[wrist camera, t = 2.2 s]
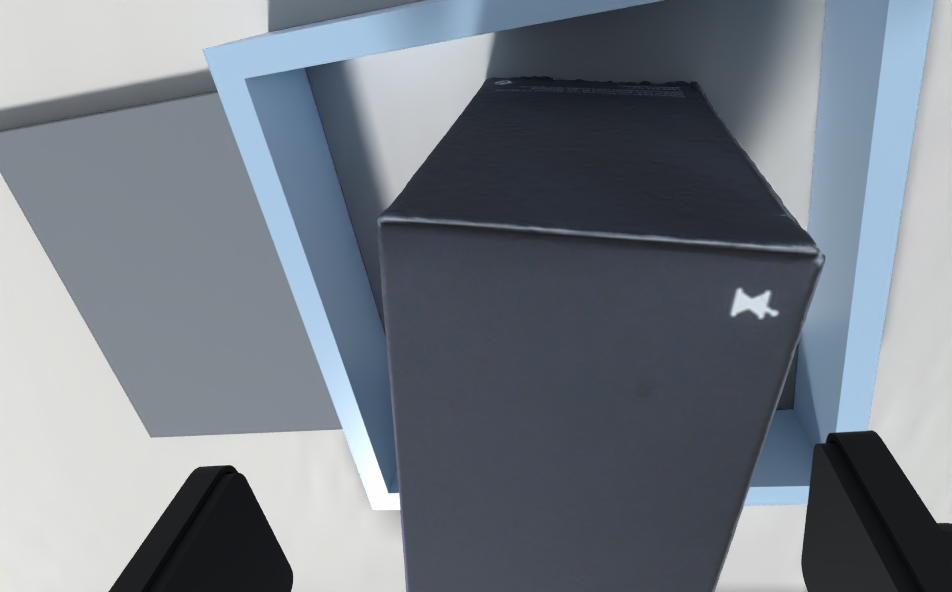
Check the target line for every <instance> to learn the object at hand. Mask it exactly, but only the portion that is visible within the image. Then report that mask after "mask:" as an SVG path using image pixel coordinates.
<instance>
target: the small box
mask: <svg viewBox="0 0 952 592" xmlns="http://www.w3.org/2000/svg"><path fill="white" fill-rule="evenodd" d="M376 233H377V242H378V254H379V264H380V281H381V291H382V301H383V312H384V322H385V334H386V345H387V356H388V368H389V379H390V391H391V403H392V415H393V426H394V438H395V450H396V461H397V474H398V486H399V499H400V513H401V526H402V538H403V551H404V564H405V580H406V592H715V589H716V586H717V583H718V580H719V577H720V574H721V571H722V568H723V565H724V562H725V559H726V557H727V554H728V551H729V548H730V544H731V542H732V539H733V537H734V533H735V530H736V526H737V523H738V520H739V517H740V515H741V512H742V509H743V506H744V503H745V500H746V497H747V494H748V491H749V488H750V485H751V482H752V478H753V475H754V472H755V469H756V466H757V464H758V461H759V458H760V455H761V452H762V450H763V447H764V444H765V441H766V438H767V435H768V431H769V428H770V425H771V422H772V419H773V416H774V413H775V411H776V408H777V405H778V402H779V399H780V397H781V394H782V391H783V388H784V385H785V382H786V378H787V375H788V372H789V369H790V366H791V363H792V360H793V357H794V354H795V351H796V347H797V345H798V343H799V340H800V338H801V332H802V328H803V326H804V323H805V321H806V317H807V314H808V311H809V308H810V305H811V302H812V299H813V296H814V293H815V290H816V288H817V285H818V282H819V279H820V276H821V273H822V270H823V267H824V264H825V255H824V254H823V253H822V252H821V251H820V249H819V248H818V246H817V244H816V243H815V241H814V240H813V238H812V237H811V236H810V234H809V233H807V232H806V231H805V230H803V229H802V228H801V226H800V225H799V224H798V222H797V220H796V219H795V218H794V217H793V216H792V215H791V213H790V212H789V211H788V210H787V208H786V207H785V206H784V205H783V202H782V200H781V199H780V197H779V196H778V195H777V194H776V193H775V191H774V190H773V189H772V187H771V185H770V184H769V183H768V182H767V181H766V179H765V177H764V176H763V175H762V174H761V173H760V172H759V170H758V169H757V167H756V165H755V163H754V162H753V161H752V160H751V159H750V158H749V156H748V155H747V153H746V152H745V151H744V150H743V149H742V148H741V147H740V146H739V144H738V143H737V141H736V139H735V138H734V137H733V135H732V134H731V133H730V131H729V130H728V129H727V128H726V126H725V124H724V123H723V122H722V120H721V119H720V118H719V117H718V116H717V113H716V112H715V111H714V109H713V107H712V106H711V104H710V102H709V101H708V99H707V97H706V95H705V93H704V92H703V91H702V89H701V88H700V86H699V85H698V83H697V82H691V83H690V84H688V83H686V82H682V81H681V82H668V83H665V84H651V83H650V82H647V81H643V82H641V83H633V82H627V83H623V82H619V83H613V82H612V81H608V82H598V81H595V82H590V81H584V80H581V79H578V80H553V79H552V78H550V77H546V76H543V77H536V76H534V77H520V78H509V79H503V78H490V79H487V80H486V81H485V82H484V84H483V85H482V87H481V88H480V90H479V91H478V92H477V94H476V95H475V96H474V97H473V99H472V100H471V102H470V103H469V104H468V106H467V107H466V108H465V110H464V111H463V113H462V114H461V115H460V116H459V118H458V119H457V120H456V122H455V123H454V124H453V125H452V127H451V128H450V129H449V131H448V132H447V133H446V135H445V136H444V137H443V138H442V140H441V141H440V142H439V143H438V145H437V146H436V147H435V149H434V150H433V151H432V152H431V154H430V155H429V156H428V158H427V159H426V160H425V162H424V163H423V164H422V165H421V167H420V168H419V169H418V171H417V172H416V173H415V174H414V175H413V177H412V178H411V180H410V181H409V182H408V183H407V185H406V187H405V188H404V190H403V191H402V192H401V193H400V194H399V195H398V197H397V198H396V199H395V201H394V202H393V203H392V204H391V206H390V207H388V208H387V209H386V210H385V211H384V212H383V213H382V214H381V215H380V217H379V218H378V219H377V227H376Z"/></svg>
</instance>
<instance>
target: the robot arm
mask: <svg viewBox="0 0 952 592" xmlns="http://www.w3.org/2000/svg"><path fill="white" fill-rule="evenodd" d="M801 564H802V572H803V577H804V581H805V584H806V587H807V590H808V592H952V524H950V523H936V521H935V520H934V518H933V517H932V515H931V514H930V512H929V511H928V509H927V508H926V506H925V505H924V503H923V502H922V500H921V498H920V497H919V495H918V494H917V492H916V491H915V489H914V488H913V486H912V485H911V483H910V482H909V480H908V479H907V477H906V476H905V474H904V473H903V471H902V469H901V468H900V466H899V465H898V463H897V462H896V460H895V459H894V457H893V456H892V454H891V453H890V451H889V450H888V448H887V447H886V445H885V444H884V442H883V441H882V439H881V438H880V436H879V435H878V434H877V433H876V432H874V431H854V432H836V433H829V434H828V436H827V438H826V443H819V444H815V446H814V450H813V459H812V468H811V477H810V487H809V496H808V505H807V514H806V523H805V532H804V541H803V550H802V561H801ZM292 585H293V572H292V569H291V566H290V564H289V563H288V561H287V559H286V557H285V555H284V553H283V551H282V549H281V547H280V545H279V543H278V541H277V539H276V537H275V535H274V533H273V531H272V529H271V527H270V525H269V523H268V521H267V519H266V517H265V515H264V513H263V511H262V509H261V507H260V505H259V503H258V501H257V499H256V497H255V495H254V493H253V491H252V489H251V487H250V486H249V484H248V482H247V480H246V478H245V476H244V475H243V474H241V473H238V471H237V470H236V469H235V468H234V467H233V466H231V465H226V466H207V467H199V468H197V469H195V470H194V471H193V472H192V473H191V474H190V476H189V477H188V478H187V480H186V481H185V483H184V484H183V486H182V487H181V489H180V490H179V491H178V493H177V494H176V496H175V497H174V499H173V500H172V501H171V503H170V504H169V506H168V507H167V509H166V510H165V512H164V513H163V514H162V516H161V517H160V519H159V520H158V522H157V523H156V524H155V526H154V527H153V529H152V530H151V532H150V533H149V535H148V536H147V537H146V539H145V540H144V542H143V543H142V545H141V546H140V547H139V549H138V550H137V552H136V553H135V555H134V556H133V558H132V559H131V560H130V562H129V563H128V565H127V566H126V568H125V569H124V570H123V572H122V573H121V575H120V576H119V578H118V579H117V581H116V582H115V583H114V585H113V586H112V588H111V589H110V591H109V592H291V589H292Z"/></svg>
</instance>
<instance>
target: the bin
mask: <svg viewBox="0 0 952 592" xmlns="http://www.w3.org/2000/svg"><path fill="white" fill-rule="evenodd" d="M658 1H663V0H426V1H421V2H416V3H411V4H406V5H401V6H396V7H391V8H386V9H381V10H376V11H371V12H366V13H362V14H357V15H352V16H347V17H342V18H337V19H332V20H327V21H322V22H317V23H312V24H307V25H303V26H298V27H293V28H288V29H283V30H278V31H273V32H268V33H264V34H260V35H256V36H253V37H249V38H245V39H241V40H237V41H233V42H229V43H226V44H222V45H218V46H214V47H210V48H206V49H202V50H203V53H204V56H205V58H206V61H207V64H208V67H209V69H210V72H211V75H212V77H213V80H214V83H215V85H216V88H217V91H218V94H219V96H220V99H221V102H222V104H223V107H224V110H225V112H226V115H227V118H228V121H229V123H230V126H231V129H232V131H233V134H234V137H235V139H236V142H237V145H238V147H239V150H240V153H241V156H242V158H243V161H244V164H245V166H246V169H247V172H248V174H249V177H250V180H251V183H252V185H253V188H254V191H255V193H256V196H257V199H258V201H259V204H260V207H261V210H262V212H263V215H264V218H265V220H266V223H267V226H268V228H269V231H270V234H271V237H272V239H273V242H274V245H275V247H276V250H277V253H278V255H279V258H280V261H281V264H282V266H283V269H284V272H285V274H286V277H287V280H288V282H289V285H290V288H291V290H292V293H293V296H294V299H295V301H296V304H297V307H298V309H299V312H300V315H301V317H302V320H303V323H304V326H305V328H306V331H307V334H308V336H309V339H310V342H311V344H312V347H313V350H314V353H315V355H316V358H317V361H318V363H319V366H320V369H321V371H322V374H323V377H324V380H325V382H326V385H327V388H328V390H329V393H330V396H331V398H332V401H333V404H334V406H335V409H336V412H337V415H338V417H339V420H340V423H341V425H342V428H343V431H344V433H345V436H346V439H347V442H348V444H349V447H350V450H351V452H352V455H353V458H354V460H355V463H356V466H357V469H358V471H359V474H360V477H361V479H362V482H363V485H364V487H365V490H366V493H367V496H368V498H369V501H370V504H371V506H372V509H373V510H400V499H399V486H398V474H397V461H396V450H395V438H394V426H393V415H392V403H391V391H390V379H389V368H388V356H387V345H386V337H385V334H384V330H383V327H382V324H381V320H380V317H379V314H378V310H377V307H376V304H375V300H374V297H373V294H372V290H371V287H370V284H369V280H368V277H367V274H366V270H365V267H364V264H363V260H362V257H361V254H360V250H359V247H358V244H357V240H356V237H355V234H354V230H353V227H352V224H351V220H350V217H349V214H348V210H347V207H346V204H345V200H344V197H343V194H342V190H341V187H340V184H339V180H338V177H337V174H336V170H335V167H334V164H333V160H332V157H331V154H330V150H329V147H328V144H327V140H326V137H325V134H324V131H323V127H322V124H321V121H320V117H319V114H318V111H317V107H316V104H315V101H314V97H313V94H312V91H311V87H310V84H309V81H308V77H307V74H306V71H305V67H310V66H315V65H320V64H326V63H331V62H336V61H342V60H347V59H352V58H358V57H363V56H369V55H374V54H379V53H385V52H390V51H395V50H401V49H406V48H411V47H417V46H422V45H428V44H433V43H438V42H444V41H449V40H454V39H460V38H465V37H470V36H476V35H481V34H486V33H492V32H497V31H503V30H508V29H513V28H519V27H524V26H529V25H535V24H540V23H545V22H551V21H556V20H562V19H567V18H572V17H578V16H583V15H588V14H594V13H599V12H604V11H610V10H615V9H621V8H626V7H631V6H637V5H642V4H647V3H653V2H658ZM933 4H934V0H826V7H825V20H824V33H823V45H822V58H821V71H820V83H819V96H818V109H817V121H816V134H815V147H814V159H813V172H812V184H811V197H810V210H809V222H808V233H809V234H810V236H811V237H812V238H813V240H814V241H815V243H816V244H817V246H818V248H819V249H820V251H821V252H822V253H823V254H824V255H825V264H824V267H823V270H822V273H821V276H820V279H819V282H818V285H817V288H816V290H815V293H814V296H813V299H812V302H811V305H810V308H809V311H808V314H807V317H806V321H805V323H804V326H803V328H802V332H801V338H800V340H799V349H798V361H797V374H796V387H795V399H794V409H791V410H776V411H775V413H774V416H773V419H772V422H771V425H770V428H769V431H768V435H767V438H766V441H765V444H764V447H763V450H762V452H761V455H760V458H759V461H758V464H757V466H756V469H755V472H754V475H753V478H752V482H751V485H750V488H749V491H748V494H747V497H746V500H745V503H744V506H753V505H808V496H809V487H810V477H811V468H812V459H813V450H814V446H815V444H819V443H826V438H827V436H828V434H829V433H836V432H854V431H868V424H869V418H870V411H871V405H872V398H873V392H874V386H875V379H876V373H877V366H878V360H879V353H880V347H881V340H882V334H883V327H884V321H885V314H886V308H887V302H888V295H889V289H890V282H891V276H892V269H893V263H894V256H895V250H896V243H897V237H898V231H899V224H900V218H901V211H902V205H903V198H904V192H905V185H906V179H907V172H908V166H909V159H910V153H911V147H912V140H913V134H914V127H915V121H916V114H917V108H918V101H919V95H920V88H921V82H922V75H923V69H924V63H925V56H926V50H927V43H928V37H929V30H930V24H931V17H932V11H933Z"/></svg>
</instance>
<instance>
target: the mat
mask: <svg viewBox="0 0 952 592" xmlns="http://www.w3.org/2000/svg"><path fill="white" fill-rule="evenodd" d="M0 173H1V174H2V176H3V178H4V180H5V182H6V183H7V185H8V187H9V189H10V190H11V192H12V194H13V196H14V197H15V199H16V201H17V203H18V204H19V206H20V208H21V210H22V211H23V213H24V215H25V217H26V219H27V220H28V222H29V224H30V226H31V227H32V229H33V231H34V233H35V234H36V236H37V238H38V240H39V241H40V243H41V245H42V247H43V248H44V250H45V252H46V254H47V256H48V257H49V259H50V261H51V263H52V264H53V266H54V268H55V270H56V271H57V273H58V275H59V277H60V278H61V280H62V282H63V284H64V285H65V287H66V289H67V291H68V293H69V294H70V296H71V298H72V300H73V301H74V303H75V305H76V307H77V308H78V310H79V312H80V314H81V315H82V317H83V319H84V321H85V322H86V324H87V326H88V328H89V329H90V331H91V333H92V335H93V337H94V338H95V340H96V342H97V344H98V345H99V347H100V349H101V351H102V352H103V354H104V356H105V358H106V359H107V361H108V363H109V365H110V366H111V368H112V370H113V372H114V374H115V375H116V377H117V379H118V381H119V382H120V384H121V386H122V388H123V389H124V391H125V393H126V395H127V396H128V398H129V400H130V402H131V403H132V405H133V407H134V409H135V411H136V412H137V414H138V416H139V418H140V419H141V421H142V423H143V425H144V426H145V428H146V430H147V432H148V433H149V435H150V437H174V436H197V435H221V434H244V433H267V432H290V431H313V430H336V429H343V428H342V425H341V423H340V420H339V417H338V415H337V412H336V409H335V406H334V404H333V401H332V398H331V396H330V393H329V390H328V388H327V385H326V382H325V380H324V377H323V374H322V371H321V369H320V366H319V363H318V361H317V358H316V355H315V353H314V350H313V347H312V344H311V342H310V339H309V336H308V334H307V331H306V328H305V326H304V323H303V320H302V317H301V315H300V312H299V309H298V307H297V304H296V301H295V299H294V296H293V293H292V290H291V288H290V285H289V282H288V280H287V277H286V274H285V272H284V269H283V266H282V264H281V261H280V258H279V255H278V253H277V250H276V247H275V245H274V242H273V239H272V237H271V234H270V231H269V228H268V226H267V223H266V220H265V218H264V215H263V212H262V210H261V207H260V204H259V201H258V199H257V196H256V193H255V191H254V188H253V185H252V183H251V180H250V177H249V174H248V172H247V169H246V166H245V164H244V161H243V158H242V156H241V153H240V150H239V147H238V145H237V142H236V139H235V137H234V134H233V131H232V129H231V126H230V123H229V121H228V118H227V115H226V112H225V110H224V107H223V104H222V102H221V99H220V96H219V94H218V91H216V92H210V93H205V94H199V95H194V96H188V97H183V98H177V99H172V100H167V101H161V102H156V103H150V104H145V105H139V106H134V107H128V108H123V109H118V110H112V111H107V112H101V113H96V114H90V115H85V116H79V117H74V118H68V119H63V120H58V121H52V122H47V123H41V124H36V125H30V126H25V127H19V128H14V129H9V130H3V131H0Z"/></svg>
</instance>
